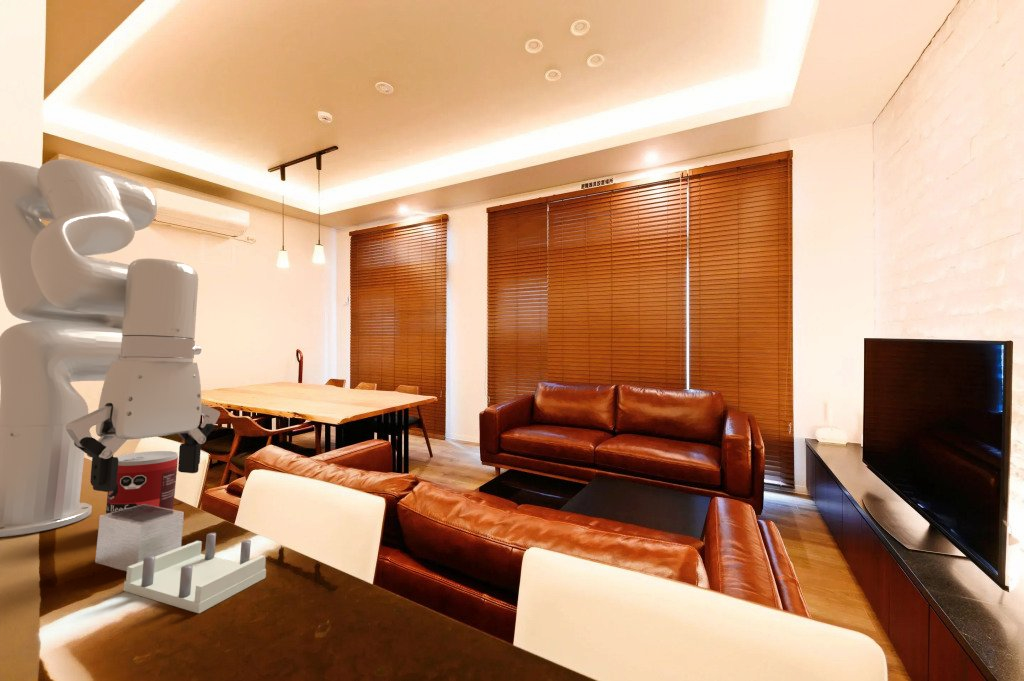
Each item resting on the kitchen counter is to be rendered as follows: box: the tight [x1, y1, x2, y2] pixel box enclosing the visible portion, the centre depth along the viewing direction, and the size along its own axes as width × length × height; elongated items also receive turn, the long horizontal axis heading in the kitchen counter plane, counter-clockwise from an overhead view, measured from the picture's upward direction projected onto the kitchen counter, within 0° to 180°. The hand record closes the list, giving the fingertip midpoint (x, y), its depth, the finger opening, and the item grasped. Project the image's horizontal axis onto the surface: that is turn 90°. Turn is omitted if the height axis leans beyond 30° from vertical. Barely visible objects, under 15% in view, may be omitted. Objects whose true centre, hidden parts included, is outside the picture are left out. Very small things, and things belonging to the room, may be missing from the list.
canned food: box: [105, 450, 179, 514], centre depth 65 cm, size 8×8×11 cm
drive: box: [94, 504, 185, 572], centre depth 55 cm, size 8×5×6 cm, turn 72°
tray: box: [123, 532, 267, 614], centre depth 49 cm, size 12×8×4 cm, turn 72°
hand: (149, 480), depth 55 cm, fingers open, 9 cm apart
